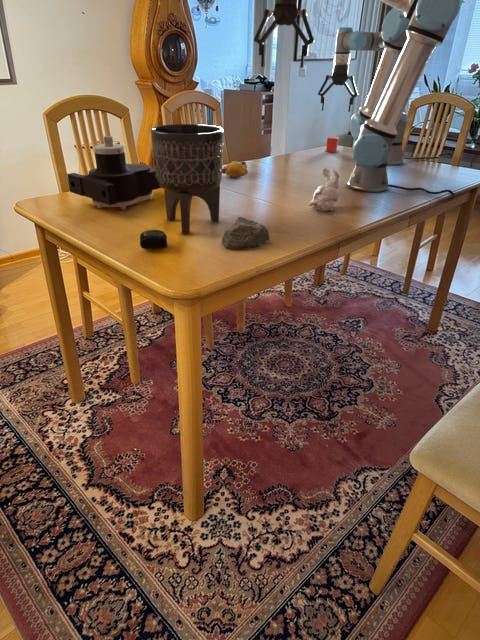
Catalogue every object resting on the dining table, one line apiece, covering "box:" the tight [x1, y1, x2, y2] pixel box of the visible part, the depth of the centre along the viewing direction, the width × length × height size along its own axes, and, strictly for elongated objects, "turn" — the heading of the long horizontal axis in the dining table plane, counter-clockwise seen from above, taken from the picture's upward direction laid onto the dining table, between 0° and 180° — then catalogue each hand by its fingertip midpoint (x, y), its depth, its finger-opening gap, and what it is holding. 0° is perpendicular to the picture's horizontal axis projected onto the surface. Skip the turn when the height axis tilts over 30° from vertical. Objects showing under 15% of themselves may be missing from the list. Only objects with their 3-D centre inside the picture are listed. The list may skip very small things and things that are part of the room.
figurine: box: [308, 167, 340, 211], centre depth 148 cm, size 8×15×13 cm, turn 145°
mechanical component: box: [67, 135, 162, 210], centre depth 149 cm, size 22×21×30 cm
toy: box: [222, 160, 249, 178], centre depth 190 cm, size 11×6×15 cm
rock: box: [221, 216, 270, 250], centre depth 119 cm, size 13×9×6 cm, turn 131°
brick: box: [325, 136, 339, 153], centre depth 244 cm, size 6×5×7 cm
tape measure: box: [139, 229, 168, 250], centre depth 117 cm, size 7×7×4 cm
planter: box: [149, 123, 225, 235], centre depth 128 cm, size 20×20×26 cm
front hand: (282, 67), depth 156 cm, fingers open, 13 cm apart
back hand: (335, 111), depth 236 cm, fingers open, 13 cm apart
